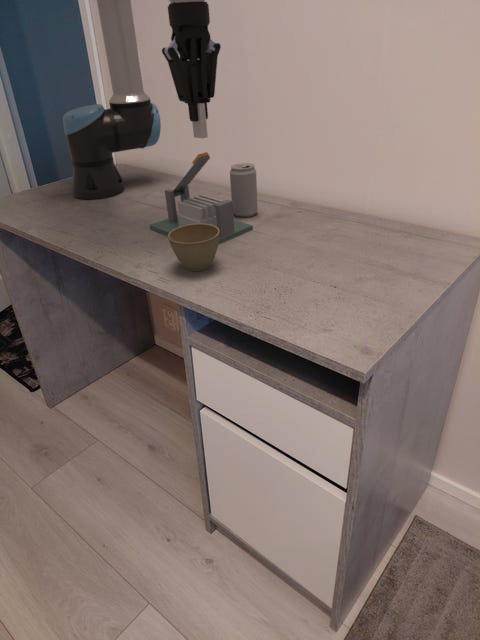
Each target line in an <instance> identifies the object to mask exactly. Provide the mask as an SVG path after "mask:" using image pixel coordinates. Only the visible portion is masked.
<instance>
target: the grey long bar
mask: <svg viewBox="0 0 480 640" xmlns="http://www.w3.org/2000/svg"><path fill="white" fill-rule="evenodd" d="M210 159H211V157H210V154H209V153H208V151H205V152H203V153H199V154H197V155H196V156H195V158H194V159H193V160H192V162H191V163H192V165H191V167H190V169H189V170H188V171H187V172H186V174H185V175H184V176H183V178H182V179H181V180H180V181H179V183H178V184H177V185H176V186H175V188H174V189H172V190H173V191H174V196H175V198H176V197H178V196H179V197H180V195H182V194H183V191H184V189H185V188H186V187H187V186H188V187H189V185H190V184H191V182H192V181H193V180H194V179H195V178H196V176H197V174H199V172H200V171H201V170H202V169H203V167H205V165H206V164H207V163H208V161H209V160H210Z"/></svg>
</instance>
